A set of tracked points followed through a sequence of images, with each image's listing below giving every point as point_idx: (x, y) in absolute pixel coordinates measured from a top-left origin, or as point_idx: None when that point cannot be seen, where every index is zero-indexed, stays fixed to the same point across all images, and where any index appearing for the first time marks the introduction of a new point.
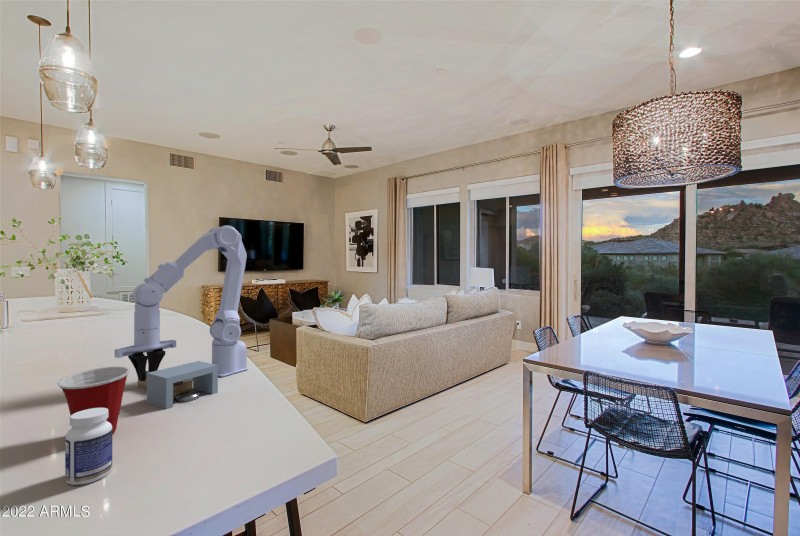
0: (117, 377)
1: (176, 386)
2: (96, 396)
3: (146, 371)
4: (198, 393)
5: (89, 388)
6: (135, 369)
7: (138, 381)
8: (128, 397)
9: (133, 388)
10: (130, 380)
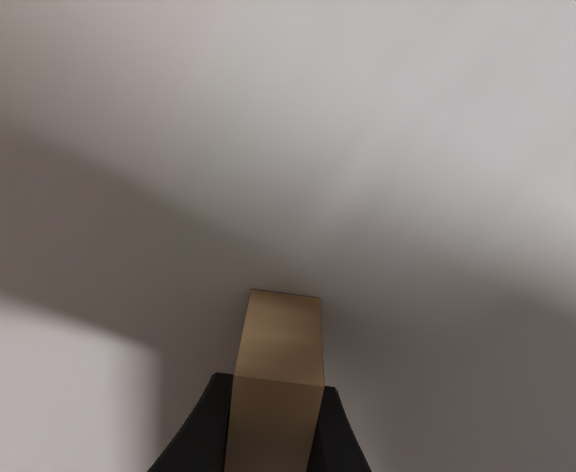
0: None
1: None
2: None
3: (306, 411)
4: None
5: None
6: (163, 455)
7: (246, 319)
8: (69, 443)
9: (189, 319)
10: (337, 53)
